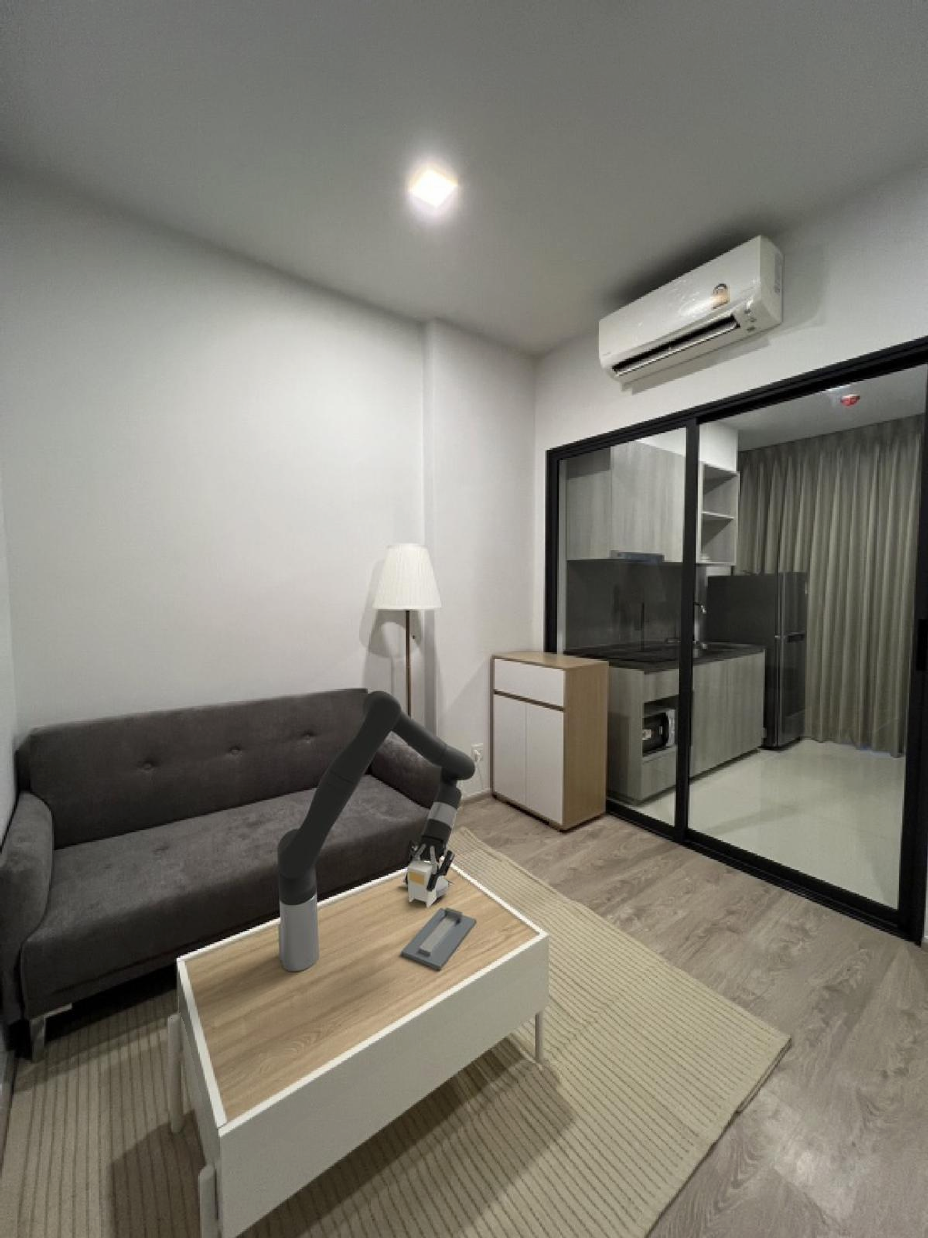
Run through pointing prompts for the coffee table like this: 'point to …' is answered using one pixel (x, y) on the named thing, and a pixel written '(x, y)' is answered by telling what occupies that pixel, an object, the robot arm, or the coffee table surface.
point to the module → (420, 882)
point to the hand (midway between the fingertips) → (418, 887)
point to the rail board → (445, 947)
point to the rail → (441, 931)
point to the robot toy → (440, 886)
